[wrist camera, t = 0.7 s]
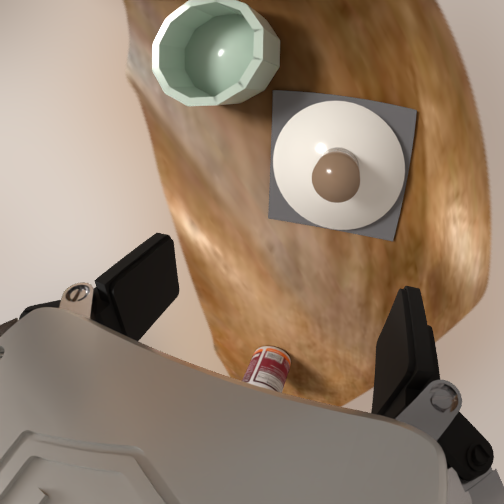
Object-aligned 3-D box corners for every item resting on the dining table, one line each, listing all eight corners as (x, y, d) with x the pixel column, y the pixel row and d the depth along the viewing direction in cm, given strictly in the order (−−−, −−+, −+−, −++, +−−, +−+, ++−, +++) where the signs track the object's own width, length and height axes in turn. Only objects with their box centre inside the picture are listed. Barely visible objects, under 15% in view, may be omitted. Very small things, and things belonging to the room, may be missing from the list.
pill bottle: (264, 369, 47) (242, 421, 38) (249, 345, 45) (222, 400, 36) (297, 367, 44) (278, 424, 35) (283, 342, 42) (260, 402, 33)
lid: (277, 95, 25) (260, 94, 20) (411, 114, 21) (424, 116, 17) (272, 214, 31) (257, 236, 27) (389, 236, 28) (394, 262, 23)
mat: (274, 90, 25) (272, 90, 25) (415, 110, 21) (416, 110, 21) (269, 216, 32) (268, 218, 32) (392, 239, 28) (392, 241, 28)
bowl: (183, 18, 23) (154, 9, 18) (280, 6, 20) (264, -11, 15) (182, 104, 29) (153, 109, 24) (278, 104, 26) (261, 105, 21)
